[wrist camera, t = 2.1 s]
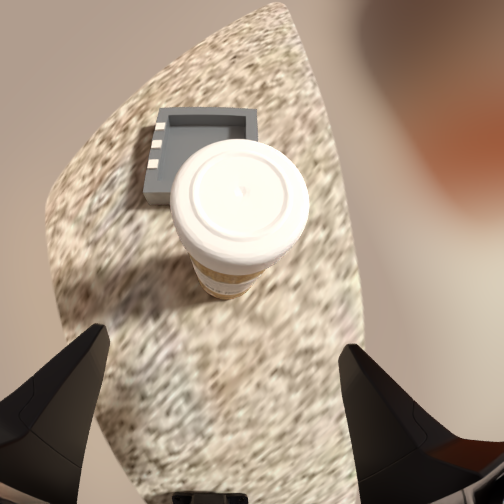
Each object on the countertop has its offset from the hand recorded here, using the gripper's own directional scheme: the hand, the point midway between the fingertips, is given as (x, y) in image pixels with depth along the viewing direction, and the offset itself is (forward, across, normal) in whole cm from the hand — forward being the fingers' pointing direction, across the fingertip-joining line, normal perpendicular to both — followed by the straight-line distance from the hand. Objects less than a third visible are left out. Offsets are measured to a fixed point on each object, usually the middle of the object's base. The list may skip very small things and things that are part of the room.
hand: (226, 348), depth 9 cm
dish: (+18, +3, -2) cm, 19 cm away
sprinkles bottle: (+12, 0, +5) cm, 12 cm away
